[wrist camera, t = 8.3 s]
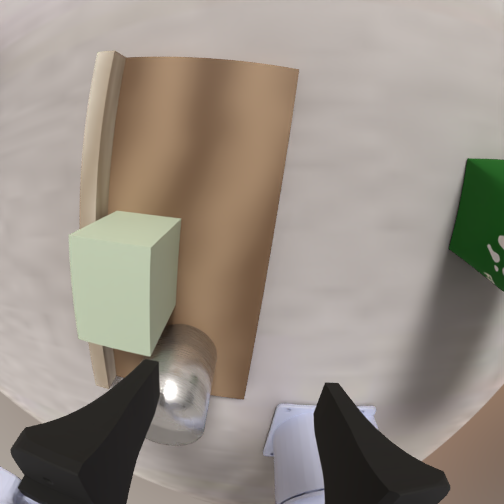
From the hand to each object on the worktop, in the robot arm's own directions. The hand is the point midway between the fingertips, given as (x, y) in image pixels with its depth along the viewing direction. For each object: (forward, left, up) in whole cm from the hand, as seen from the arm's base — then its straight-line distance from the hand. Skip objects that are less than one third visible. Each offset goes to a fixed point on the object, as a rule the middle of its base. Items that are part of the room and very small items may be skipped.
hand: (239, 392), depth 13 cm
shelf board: (+5, -3, -10) cm, 11 cm away
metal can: (+4, +5, -9) cm, 11 cm away
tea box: (+7, -2, -9) cm, 11 cm away
